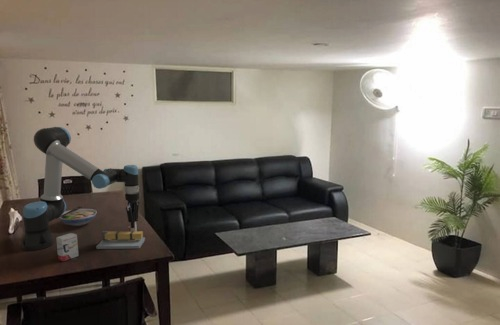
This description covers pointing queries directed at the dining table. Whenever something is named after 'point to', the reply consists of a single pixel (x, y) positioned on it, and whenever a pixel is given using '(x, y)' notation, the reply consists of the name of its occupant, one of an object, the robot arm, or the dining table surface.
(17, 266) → the dining table surface
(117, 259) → the dining table surface
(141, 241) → the power panel
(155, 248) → the dining table surface
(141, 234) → the banded tan post
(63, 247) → the ink box
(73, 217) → the ramen bowl
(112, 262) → the dining table surface
